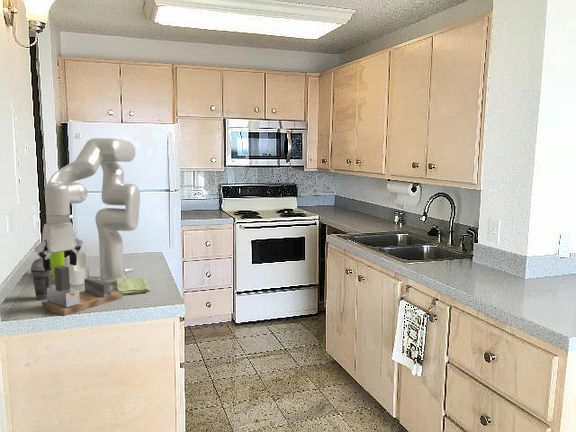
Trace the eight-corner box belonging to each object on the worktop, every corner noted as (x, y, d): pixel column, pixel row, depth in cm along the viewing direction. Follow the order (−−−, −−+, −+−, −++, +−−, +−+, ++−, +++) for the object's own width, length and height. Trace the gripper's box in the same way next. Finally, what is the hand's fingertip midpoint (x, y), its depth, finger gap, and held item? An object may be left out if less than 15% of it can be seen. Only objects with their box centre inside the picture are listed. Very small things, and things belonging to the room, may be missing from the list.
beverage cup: (48, 294, 188) (45, 244, 185) (57, 298, 184) (54, 247, 181) (29, 298, 183) (25, 247, 180) (37, 302, 178) (34, 250, 175)
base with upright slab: (80, 285, 201) (79, 257, 199) (61, 283, 202) (60, 256, 201) (93, 279, 209) (92, 252, 208) (75, 278, 211) (73, 251, 209)
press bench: (100, 291, 193) (99, 274, 192) (122, 297, 185) (122, 280, 184) (42, 307, 173) (41, 288, 172) (64, 315, 165) (63, 295, 164)
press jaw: (60, 297, 177) (58, 263, 175) (82, 304, 170) (80, 268, 168) (47, 300, 173) (45, 266, 171) (69, 308, 166) (67, 271, 164)
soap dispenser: (68, 272, 221) (65, 229, 218) (61, 276, 214) (59, 232, 211) (55, 272, 221) (52, 229, 218) (48, 276, 214) (45, 232, 211)
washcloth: (116, 297, 186) (116, 289, 186) (113, 285, 203) (113, 278, 202) (151, 293, 192) (151, 286, 191) (145, 282, 208) (145, 275, 207)
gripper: (74, 216, 177) (76, 261, 179) (28, 221, 162) (30, 270, 164) (87, 218, 172) (88, 264, 175) (40, 223, 158) (42, 273, 160)
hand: (60, 267), depth 169 cm, fingers open, 9 cm apart
